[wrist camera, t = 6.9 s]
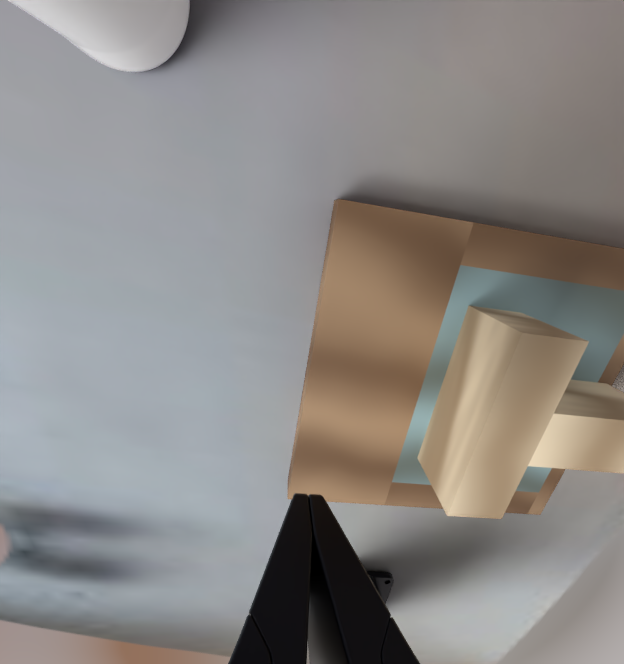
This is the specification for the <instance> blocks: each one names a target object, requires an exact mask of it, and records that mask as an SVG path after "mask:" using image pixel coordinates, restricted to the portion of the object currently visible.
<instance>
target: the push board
mask: <svg viewBox="0 0 624 664" xmlns="http://www.w3.org/2000/svg"><path fill="white" fill-rule="evenodd" d="M468 306H476V307H484V308H491V309H498V310H506V311H513V312H520V313H523V314H526V315H528V316H530V317H533V318H535V319H537V320H540V321H542V322H545V323H547V324H549V325H552V326H554V327H556V328H559V329H561V330H563V331H566V332H568V333H570V334H573V335H575V336H577V337H580V338H582V339H584V340H587V341H589V343H588V345H587V347H586V349H585V351H584V353H583V355H582V357H581V359H580V361H579V363H578V365H577V367H576V369H575V371H574V374H573V376H572V378H571V380H579V381H588V382H597V383H606V384H609V385H610V386H612V384H613V383H614V381H615V379H616V377H617V375H618V374H619V372H620V370H621V368H622V366H623V365H624V249H623V248H617V247H611V246H606V245H600V244H594V243H588V242H583V241H577V240H571V239H565V238H560V237H554V236H548V235H543V234H537V233H531V232H525V231H520V230H514V229H508V228H502V227H497V226H491V225H485V224H480V223H474V222H468V221H462V220H457V219H451V218H445V217H439V216H434V215H428V214H422V213H416V212H411V211H405V210H399V209H394V208H388V207H382V206H376V205H371V204H365V203H359V202H353V201H348V200H342V199H337V200H334V206H333V212H332V218H331V224H330V230H329V236H328V242H327V248H326V254H325V260H324V266H323V272H322V278H321V284H320V290H319V296H318V302H317V308H316V314H315V320H314V326H313V332H312V338H311V344H310V350H309V356H308V362H307V368H306V374H305V380H304V386H303V392H302V398H301V404H300V410H299V416H298V422H297V428H296V434H295V440H294V446H293V452H292V458H291V464H290V470H289V476H288V499H292V498H293V495H294V494H295V493H303V494H307V495H309V494H319V495H322V496H323V497H324V499H325V501H328V502H344V503H360V504H376V505H392V506H408V507H424V508H440V509H443V507H442V505H441V503H440V501H439V499H438V497H437V495H436V493H435V491H434V489H433V487H432V485H431V483H430V482H429V480H428V478H427V476H426V474H425V472H424V470H423V468H422V466H421V464H420V462H419V460H418V455H419V452H420V449H421V446H422V443H423V440H424V437H425V434H426V431H427V428H428V425H429V422H430V419H431V416H432V413H433V410H434V407H435V404H436V401H437V398H438V395H439V392H440V389H441V386H442V383H443V380H444V377H445V374H446V371H447V368H448V365H449V362H450V359H451V356H452V353H453V350H454V347H455V344H456V341H457V338H458V335H459V332H460V329H461V326H462V323H463V321H464V318H465V315H466V312H467V309H468ZM564 471H565V469H559V468H546V467H533V466H528V467H527V469H526V471H525V473H524V475H523V477H522V479H521V481H520V483H519V485H518V487H517V489H516V491H515V493H514V495H513V497H512V499H511V501H510V503H509V505H508V507H507V509H506V511H505V513H521V514H537V515H540V514H541V512H542V511H543V509H544V507H545V505H546V503H547V502H548V500H549V498H550V496H551V494H552V493H553V491H554V489H555V487H556V485H557V484H558V482H559V480H560V478H561V476H562V475H563V473H564Z"/></svg>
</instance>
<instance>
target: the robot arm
mask: <svg viewBox="0 0 624 664" xmlns="http://www.w3.org/2000/svg"><path fill="white" fill-rule="evenodd" d="M392 584H393V577H392V575H391V574H390V573H384V572H366V570H365V569H364V567H363V565H362V563H361V562H360V560H359V558H358V556H357V555H356V553H355V551H354V549H353V548H352V546H351V544H350V542H349V541H348V539H347V537H346V535H345V534H344V532H343V530H342V528H341V527H340V525H339V523H338V522H337V520H336V518H335V516H334V515H333V513H332V511H331V509H330V508H329V506H328V504H327V502H326V501H325V499H324V497H323V496H322V495H319V494H309V495H307V494H303V493H295V494H294V495H293V498H292V500H291V503H290V506H289V508H288V511H287V513H286V516H285V519H284V521H283V524H282V527H281V529H280V532H279V535H278V537H277V540H276V542H275V545H274V548H273V550H272V553H271V556H270V558H269V561H268V564H267V566H266V569H265V571H264V574H263V577H262V579H261V582H260V585H259V587H258V590H257V592H256V595H255V598H254V600H253V603H252V606H251V608H250V611H249V615H248V616H247V618H246V621H245V624H244V626H243V629H242V631H241V634H240V637H239V639H238V641H237V644H236V646H235V649H234V651H233V654H232V656H231V658H230V661H229V663H228V664H306V660H307V640H308V648H309V660H310V664H420V663H419V661H418V660H417V658H416V656H415V655H414V653H413V651H412V650H411V648H410V646H409V645H408V643H407V641H406V640H405V638H404V636H403V635H402V633H401V631H400V629H399V628H398V626H397V624H396V622H395V621H394V619H393V618H392V617H391V618H390V616H391V614H390V612H389V610H388V609H387V607H386V605H385V603H386V601H387V598H388V595H389V593H390V590H391V587H392Z"/></svg>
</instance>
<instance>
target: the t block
mask: <svg viewBox="0 0 624 664" xmlns="http://www.w3.org/2000/svg"><path fill="white" fill-rule="evenodd" d="M588 343H589V341H587V340H584V339H582V338H580V337H577V336H575V335H573V334H570V333H568V332H566V331H563V330H561V329H559V328H556V327H554V326H552V325H549V324H547V323H545V322H542V321H540V320H537V319H535V318H533V317H530V316H528V315H526V314H523V313H520V312H513V311H506V310H498V309H491V308H484V307H476V306H468V309H467V312H466V315H465V318H464V321H463V323H462V326H461V329H460V332H459V335H458V338H457V341H456V344H455V347H454V350H453V353H452V356H451V359H450V362H449V365H448V368H447V371H446V374H445V377H444V380H443V383H442V386H441V389H440V392H439V395H438V398H437V401H436V404H435V407H434V410H433V413H432V416H431V419H430V422H429V425H428V428H427V431H426V434H425V437H424V440H423V443H422V446H421V449H420V452H419V455H418V460H419V462H420V464H421V466H422V468H423V470H424V472H425V474H426V476H427V478H428V480H429V482H430V483H431V485H432V487H433V489H434V491H435V493H436V495H437V497H438V499H439V501H440V503H441V505H442V507H443V509H444V511H445V512H446V514H447V516H459V517H476V518H494V519H502V517H503V515H504V513H505V511H506V509H507V507H508V505H509V503H510V501H511V499H512V497H513V495H514V493H515V491H516V489H517V487H518V485H519V483H520V481H521V479H522V477H523V475H524V473H525V471H526V469H527V467H528V466H533V467H546V468H559V469H572V470H585V471H598V472H611V473H624V392H622V391H620V390H618V389H616V388H614V387H612V386H610V385H609V384H606V383H597V382H588V381H579V380H571V378H572V376H573V374H574V371H575V369H576V367H577V365H578V363H579V361H580V359H581V357H582V355H583V353H584V351H585V349H586V347H587V345H588Z"/></svg>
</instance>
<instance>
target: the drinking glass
mask: <svg viewBox="0 0 624 664" xmlns="http://www.w3.org/2000/svg"><path fill="white" fill-rule="evenodd" d="M7 1H9V2H11V3H12V4H14V5H15V6H17V7H18V8H20V9H22V10H23V11H25V12H26V13H28V14H29V15H31V16H33V17H34V18H36V19H37V20H39V21H40V22H42V23H43V24H45V25H47V26H48V27H50V28H51V29H53V30H54V31H56V32H57V33H59V34H60V35H62V36H63V37H64V38H66V39H67V40H68V41H70V42H71V43H72V44H73V45H75V46H76V47H77V48H79V49H80V50H81V51H82V52H84V53H85V54H87V55H88V56H90V57H91V58H92V59H94V60H96V61H98V62H99V63H101V64H103V65H105V66H108V67H110V68H113V69H116V70H120V71H125V72H143V71H147V70H151V69H153V68H156V67H158V66H160V65H161V64H163V63H164V62H166V61H167V60H168V59H169V58H170V57H171V56H172V55H173V54H174V53H175V51H176V50H177V48H178V47H179V45H180V43H181V41H182V39H183V37H184V34H185V31H186V28H187V24H188V19H189V11H190V0H7Z"/></svg>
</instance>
